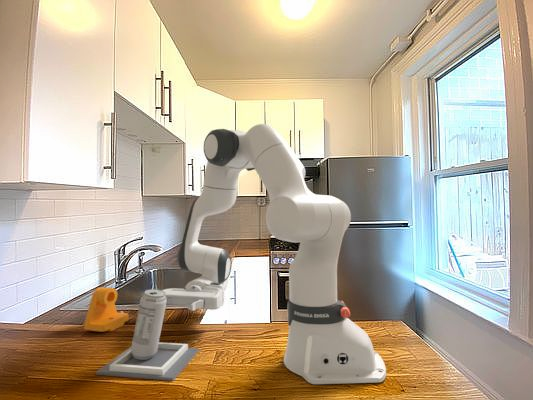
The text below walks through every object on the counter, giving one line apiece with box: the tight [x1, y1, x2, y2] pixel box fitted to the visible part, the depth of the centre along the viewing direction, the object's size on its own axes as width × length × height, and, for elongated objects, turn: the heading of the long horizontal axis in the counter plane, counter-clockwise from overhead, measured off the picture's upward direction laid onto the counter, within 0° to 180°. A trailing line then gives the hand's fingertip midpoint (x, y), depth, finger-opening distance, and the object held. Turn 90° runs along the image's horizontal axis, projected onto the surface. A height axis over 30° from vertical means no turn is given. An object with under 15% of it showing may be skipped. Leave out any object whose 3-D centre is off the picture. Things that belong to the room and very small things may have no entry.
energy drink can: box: [130, 288, 167, 360], centre depth 73 cm, size 6×6×15 cm
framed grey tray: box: [95, 341, 200, 382], centre depth 71 cm, size 18×14×2 cm
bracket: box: [83, 286, 130, 332], centre depth 95 cm, size 11×7×12 cm, turn 164°
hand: (174, 306), depth 81 cm, fingers open, 8 cm apart
